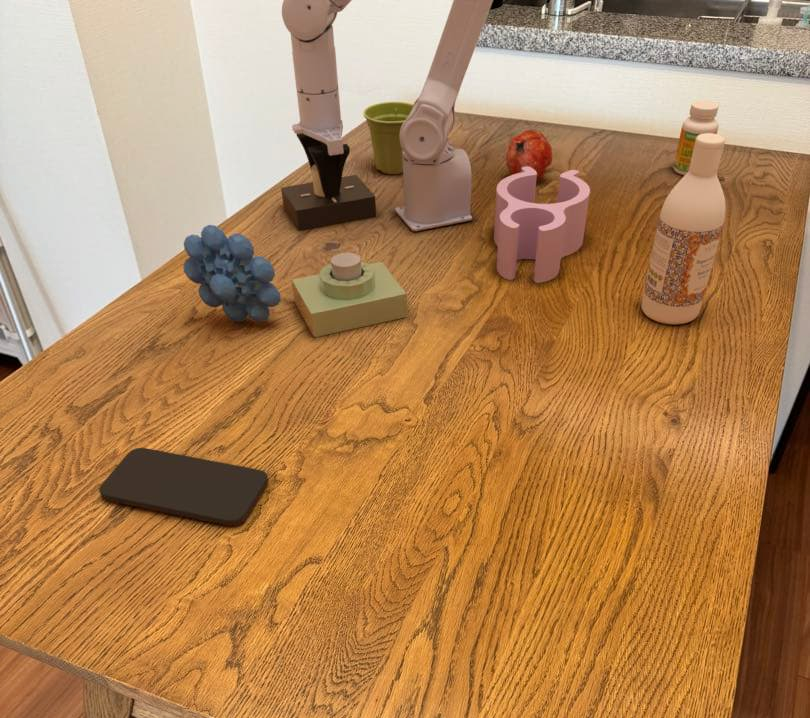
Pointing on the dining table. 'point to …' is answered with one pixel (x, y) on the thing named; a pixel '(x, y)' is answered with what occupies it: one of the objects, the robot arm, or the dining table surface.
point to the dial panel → (328, 204)
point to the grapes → (230, 274)
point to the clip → (538, 223)
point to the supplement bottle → (694, 132)
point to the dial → (317, 182)
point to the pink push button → (346, 267)
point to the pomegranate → (529, 153)
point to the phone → (185, 486)
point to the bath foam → (687, 238)
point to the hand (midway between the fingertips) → (327, 189)
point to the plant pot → (387, 134)
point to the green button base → (349, 299)
